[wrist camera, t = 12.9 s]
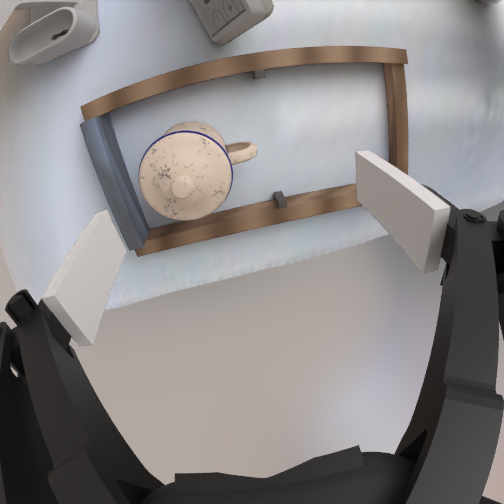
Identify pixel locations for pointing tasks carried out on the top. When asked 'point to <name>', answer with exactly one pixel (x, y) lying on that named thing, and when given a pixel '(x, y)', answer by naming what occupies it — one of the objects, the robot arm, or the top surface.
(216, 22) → the digital clock
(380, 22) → the top surface
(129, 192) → the open rectangular wooden frame
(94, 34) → the phone holder
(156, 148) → the teacup with lid
